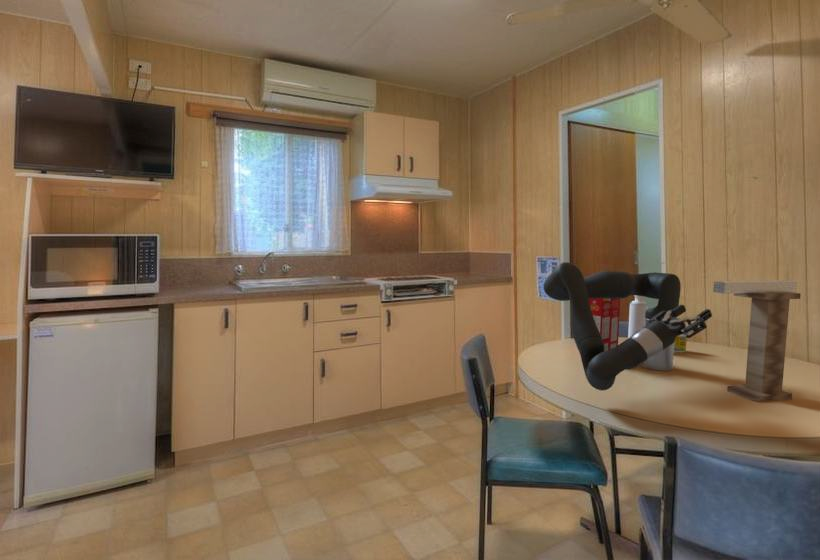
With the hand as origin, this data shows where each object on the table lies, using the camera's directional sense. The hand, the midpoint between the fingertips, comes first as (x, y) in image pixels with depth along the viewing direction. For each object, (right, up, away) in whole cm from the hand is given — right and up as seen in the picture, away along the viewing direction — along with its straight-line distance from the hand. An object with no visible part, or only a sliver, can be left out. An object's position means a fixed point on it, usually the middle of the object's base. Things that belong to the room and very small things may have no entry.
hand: (696, 309), depth 120 cm
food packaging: (-6, -22, +46) cm, 51 cm away
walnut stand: (+22, -25, +7) cm, 34 cm away
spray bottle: (+15, -20, +61) cm, 66 cm away
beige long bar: (+18, +5, +3) cm, 19 cm away
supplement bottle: (+30, -21, +57) cm, 67 cm away
